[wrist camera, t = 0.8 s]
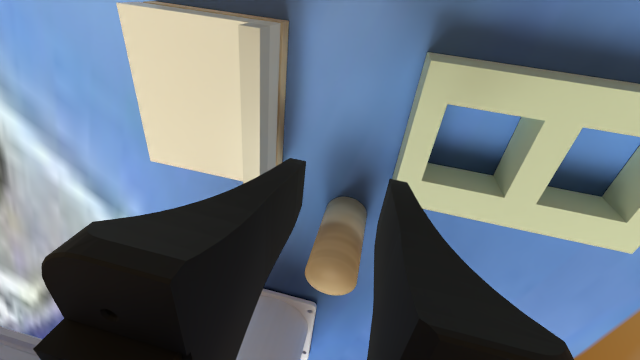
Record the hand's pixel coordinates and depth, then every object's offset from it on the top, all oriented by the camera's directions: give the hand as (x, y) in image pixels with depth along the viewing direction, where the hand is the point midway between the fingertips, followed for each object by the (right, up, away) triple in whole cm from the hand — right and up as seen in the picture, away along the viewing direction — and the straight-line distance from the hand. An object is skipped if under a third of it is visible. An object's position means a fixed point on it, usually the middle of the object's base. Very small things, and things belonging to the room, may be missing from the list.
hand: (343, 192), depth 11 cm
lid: (-7, +5, +7) cm, 11 cm away
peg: (+1, -2, +11) cm, 11 cm away
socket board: (+11, +2, +6) cm, 12 cm away
